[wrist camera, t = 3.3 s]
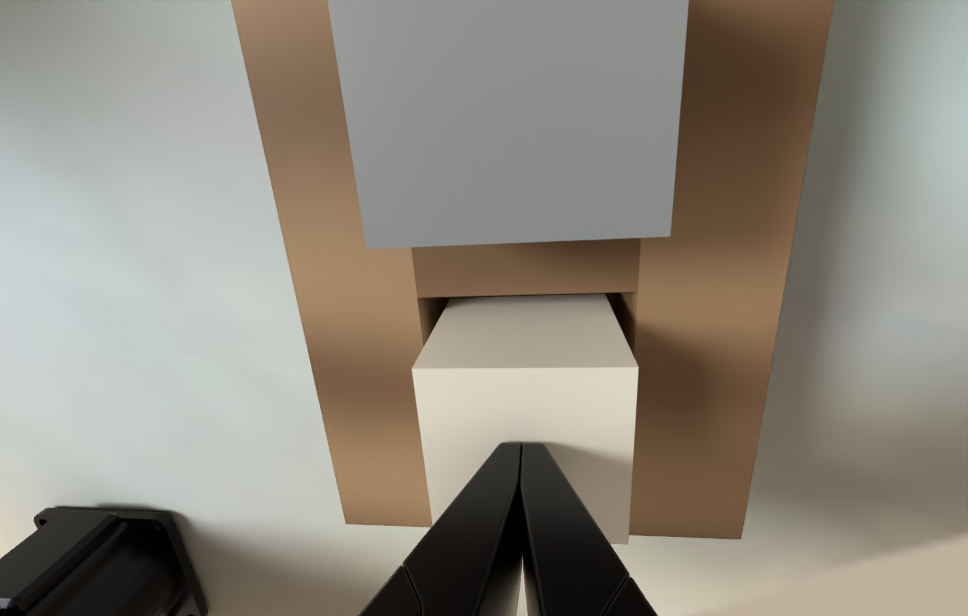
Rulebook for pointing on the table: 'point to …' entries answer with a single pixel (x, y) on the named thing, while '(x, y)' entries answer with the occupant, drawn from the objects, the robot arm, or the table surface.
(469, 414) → the ivory key
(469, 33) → the grey cube
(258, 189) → the table surface
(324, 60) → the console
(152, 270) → the table surface
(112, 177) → the table surface
